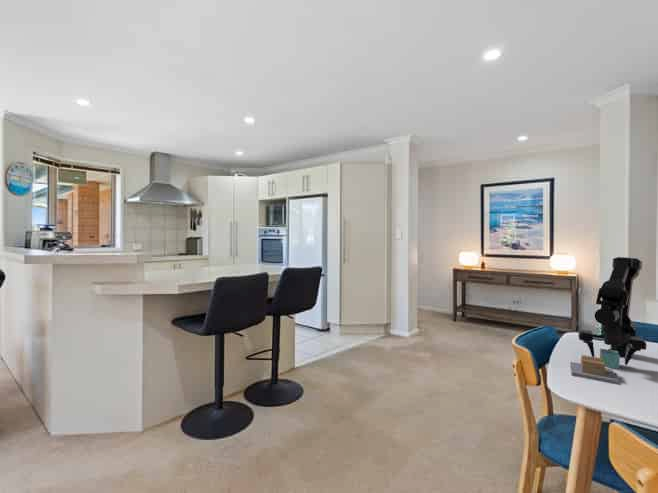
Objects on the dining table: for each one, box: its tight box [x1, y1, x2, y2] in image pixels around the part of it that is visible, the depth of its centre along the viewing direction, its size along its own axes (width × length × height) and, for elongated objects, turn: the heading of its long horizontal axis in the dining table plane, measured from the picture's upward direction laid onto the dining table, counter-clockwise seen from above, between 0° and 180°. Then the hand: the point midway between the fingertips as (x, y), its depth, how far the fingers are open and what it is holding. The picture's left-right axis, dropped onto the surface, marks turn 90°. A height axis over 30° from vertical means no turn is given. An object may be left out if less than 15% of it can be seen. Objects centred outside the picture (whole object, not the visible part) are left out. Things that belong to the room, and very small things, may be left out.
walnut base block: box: [580, 354, 606, 376], centre depth 117 cm, size 6×6×4 cm
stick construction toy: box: [595, 325, 601, 335], centre depth 153 cm, size 12×7×8 cm
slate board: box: [569, 361, 618, 385], centre depth 117 cm, size 11×12×1 cm
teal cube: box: [599, 348, 621, 370], centre depth 125 cm, size 5×5×5 cm
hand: (609, 362), depth 125 cm, fingers open, 9 cm apart
